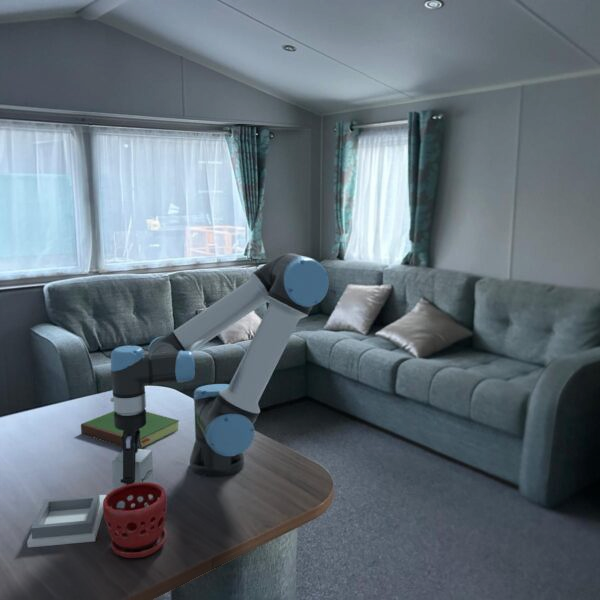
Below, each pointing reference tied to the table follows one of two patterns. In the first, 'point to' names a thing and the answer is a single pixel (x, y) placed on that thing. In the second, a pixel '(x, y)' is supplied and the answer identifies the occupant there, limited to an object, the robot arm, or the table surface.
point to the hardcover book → (107, 431)
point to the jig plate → (67, 521)
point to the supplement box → (141, 471)
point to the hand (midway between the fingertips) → (134, 491)
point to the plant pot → (136, 519)
